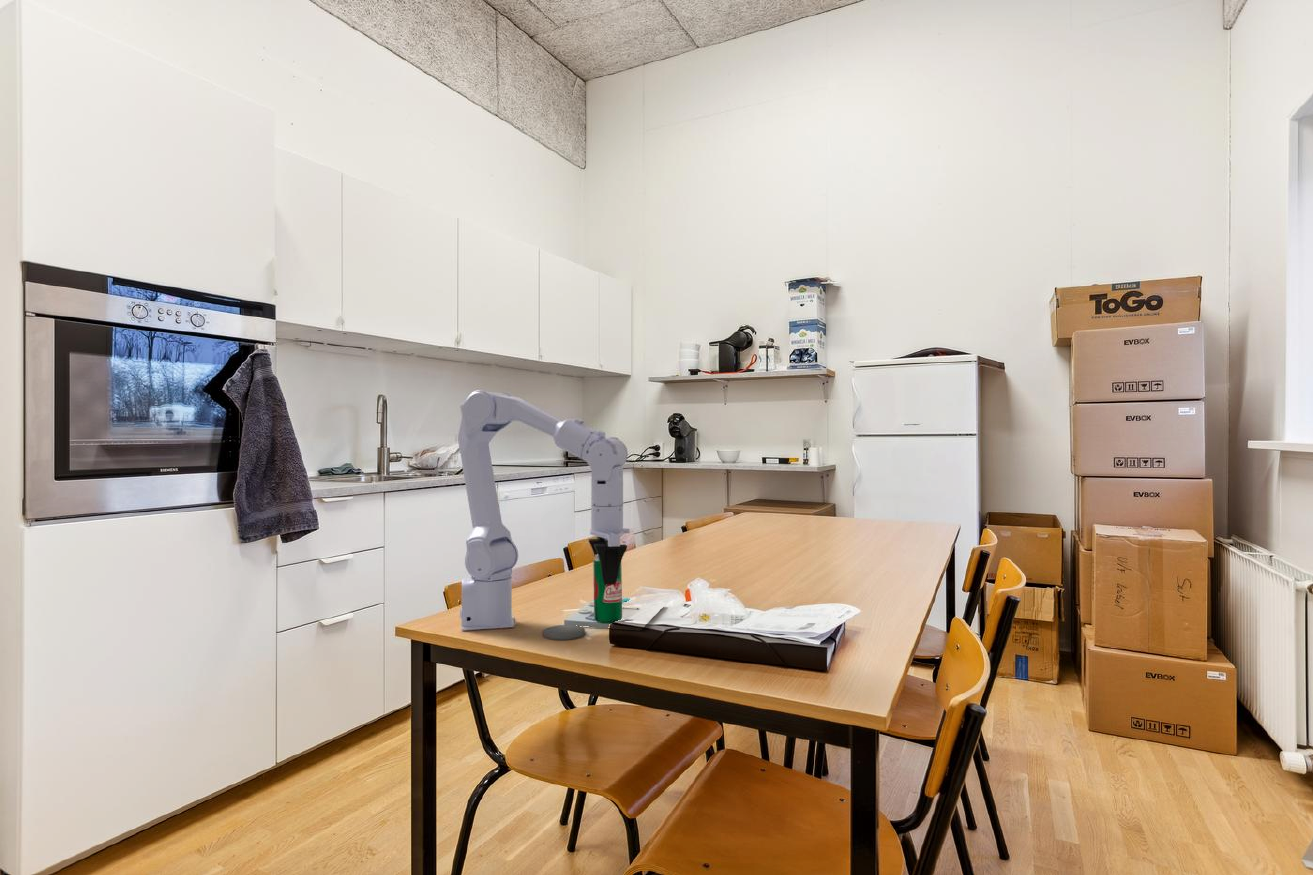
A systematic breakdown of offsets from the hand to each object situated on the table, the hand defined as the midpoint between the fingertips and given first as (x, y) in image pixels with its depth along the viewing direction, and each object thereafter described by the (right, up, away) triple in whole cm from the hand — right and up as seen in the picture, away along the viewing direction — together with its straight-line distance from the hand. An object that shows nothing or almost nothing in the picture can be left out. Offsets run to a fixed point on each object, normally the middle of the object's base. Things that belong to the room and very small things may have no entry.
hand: (607, 580), depth 123 cm
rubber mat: (-8, -10, +1) cm, 13 cm away
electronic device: (+1, -11, +13) cm, 17 cm away
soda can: (0, -7, 0) cm, 7 cm away
